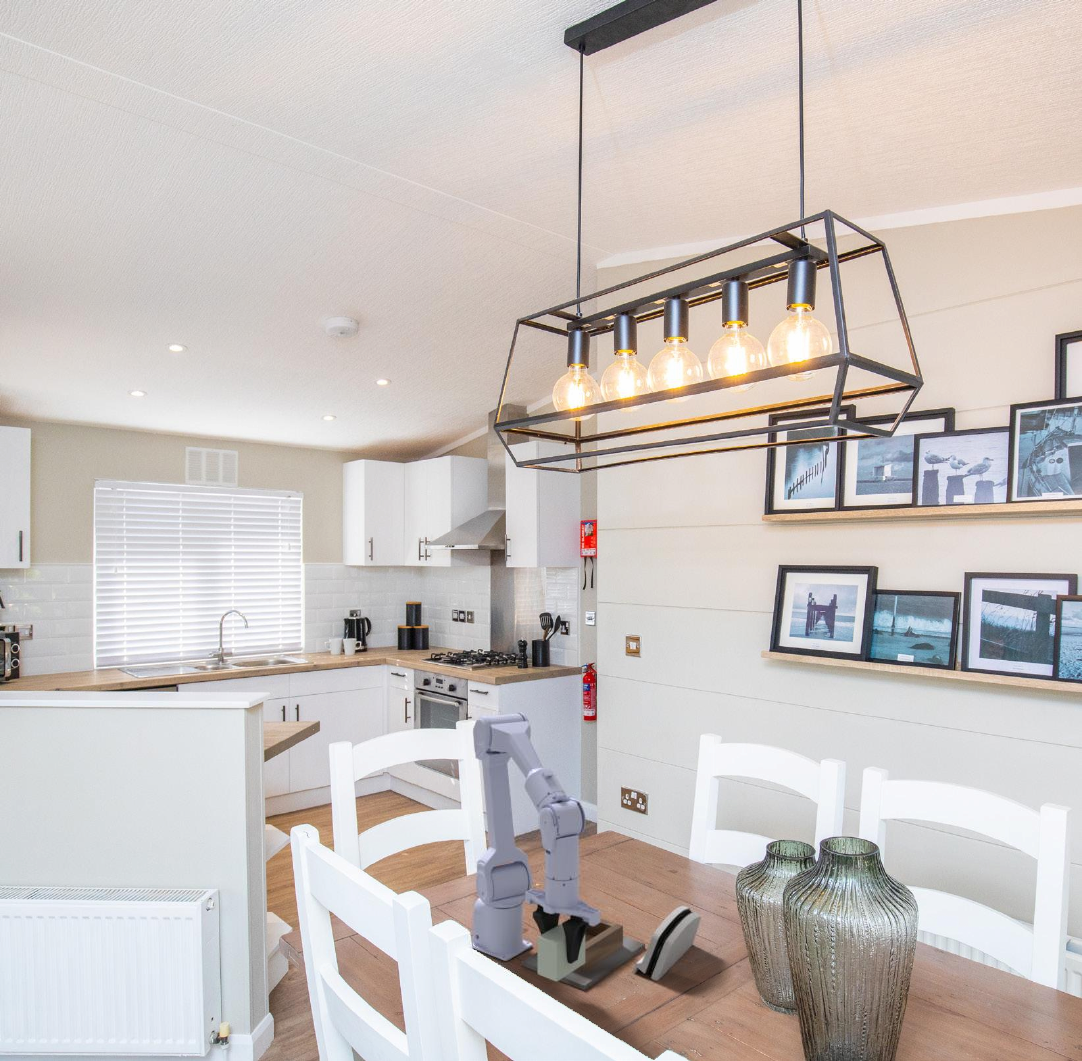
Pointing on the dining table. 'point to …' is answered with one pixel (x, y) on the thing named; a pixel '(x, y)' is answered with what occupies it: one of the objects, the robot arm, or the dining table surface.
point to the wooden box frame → (598, 954)
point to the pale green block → (556, 955)
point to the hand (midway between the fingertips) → (561, 956)
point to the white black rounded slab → (669, 942)
